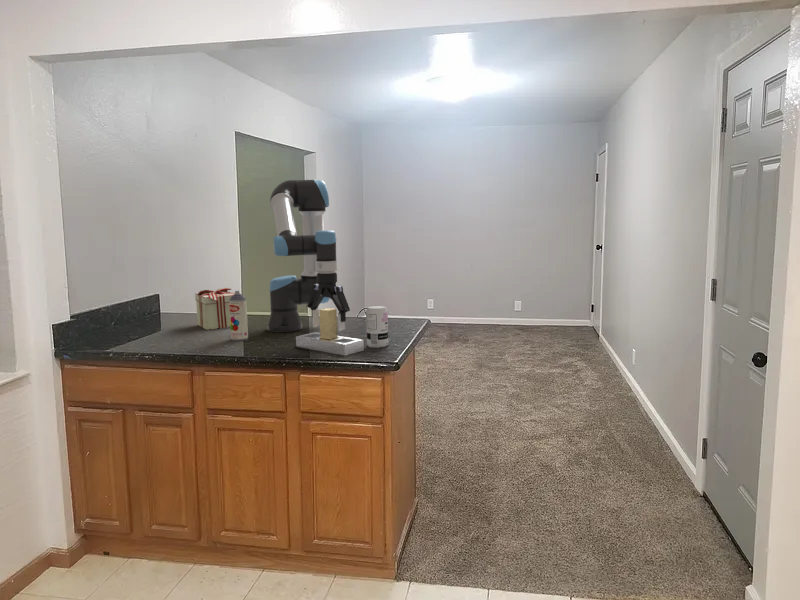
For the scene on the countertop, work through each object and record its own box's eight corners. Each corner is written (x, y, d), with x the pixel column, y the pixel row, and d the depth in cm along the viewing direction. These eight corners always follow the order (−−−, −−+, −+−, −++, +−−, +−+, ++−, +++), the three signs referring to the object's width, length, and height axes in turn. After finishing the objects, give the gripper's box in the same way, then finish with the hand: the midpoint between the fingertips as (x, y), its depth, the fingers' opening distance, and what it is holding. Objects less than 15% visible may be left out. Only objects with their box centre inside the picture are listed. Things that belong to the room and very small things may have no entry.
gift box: (210, 331, 276) (207, 292, 273) (194, 326, 290) (191, 288, 287) (246, 326, 286) (244, 289, 284) (229, 321, 300) (227, 285, 298)
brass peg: (320, 348, 238) (319, 309, 236) (329, 346, 241) (327, 308, 239) (329, 350, 235) (327, 310, 233) (337, 348, 238) (336, 309, 236)
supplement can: (366, 343, 245) (365, 305, 243) (387, 343, 246) (386, 305, 244) (367, 348, 237) (366, 309, 235) (389, 347, 238) (388, 308, 236)
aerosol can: (227, 340, 257) (224, 291, 254) (239, 337, 263) (236, 289, 260) (240, 341, 254) (237, 292, 251) (251, 338, 259) (249, 290, 256)
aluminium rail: (296, 346, 242) (295, 336, 242) (315, 341, 250) (315, 332, 250) (345, 355, 226) (344, 344, 226) (363, 350, 234) (363, 339, 233)
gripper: (296, 271, 239) (298, 326, 242) (343, 274, 223) (345, 333, 226) (311, 269, 245) (313, 323, 248) (358, 273, 229) (359, 330, 232)
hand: (328, 328), depth 237 cm, fingers open, 13 cm apart
